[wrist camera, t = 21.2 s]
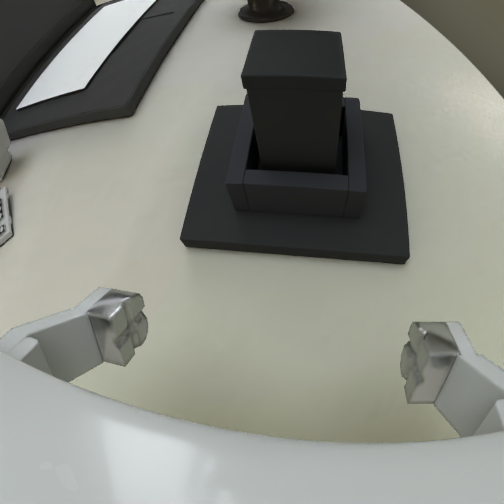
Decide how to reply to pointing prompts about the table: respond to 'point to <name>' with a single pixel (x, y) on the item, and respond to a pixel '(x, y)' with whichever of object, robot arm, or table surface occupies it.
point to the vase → (265, 10)
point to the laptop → (80, 58)
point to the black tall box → (296, 98)
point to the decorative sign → (4, 149)
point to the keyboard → (5, 217)
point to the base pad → (301, 193)
